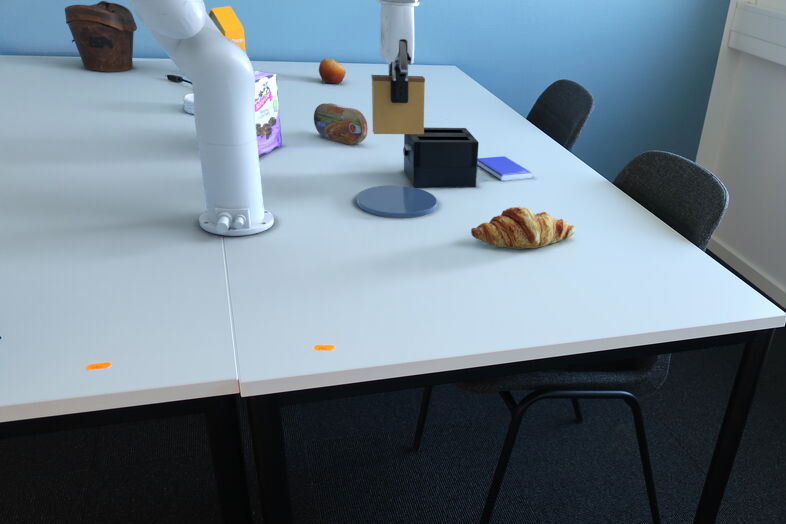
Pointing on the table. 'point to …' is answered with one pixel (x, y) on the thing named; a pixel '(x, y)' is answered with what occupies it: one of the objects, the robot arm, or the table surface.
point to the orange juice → (228, 25)
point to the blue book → (504, 168)
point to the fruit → (331, 71)
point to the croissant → (522, 229)
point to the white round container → (189, 103)
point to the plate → (396, 201)
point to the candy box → (267, 112)
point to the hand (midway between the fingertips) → (398, 100)
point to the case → (102, 35)
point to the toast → (397, 107)
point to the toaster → (441, 158)
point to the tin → (340, 123)
